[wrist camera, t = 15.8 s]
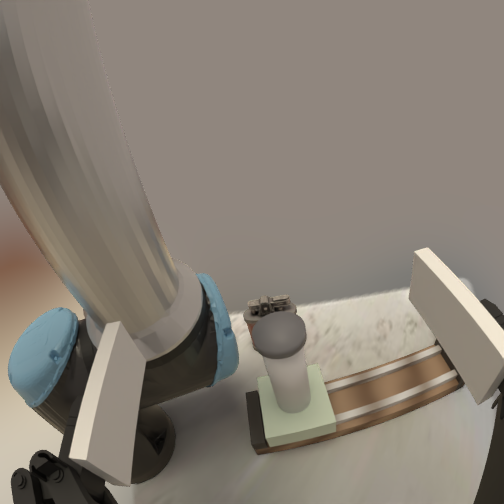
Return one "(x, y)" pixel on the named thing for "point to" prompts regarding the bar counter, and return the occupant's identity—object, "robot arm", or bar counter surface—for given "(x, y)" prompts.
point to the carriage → (290, 383)
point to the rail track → (373, 395)
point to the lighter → (266, 309)
